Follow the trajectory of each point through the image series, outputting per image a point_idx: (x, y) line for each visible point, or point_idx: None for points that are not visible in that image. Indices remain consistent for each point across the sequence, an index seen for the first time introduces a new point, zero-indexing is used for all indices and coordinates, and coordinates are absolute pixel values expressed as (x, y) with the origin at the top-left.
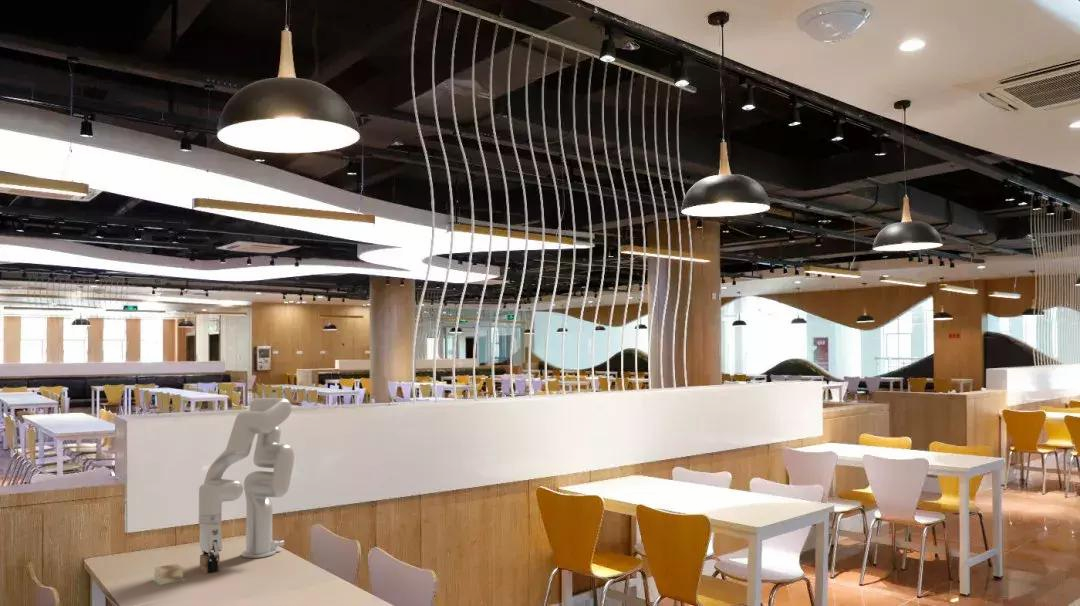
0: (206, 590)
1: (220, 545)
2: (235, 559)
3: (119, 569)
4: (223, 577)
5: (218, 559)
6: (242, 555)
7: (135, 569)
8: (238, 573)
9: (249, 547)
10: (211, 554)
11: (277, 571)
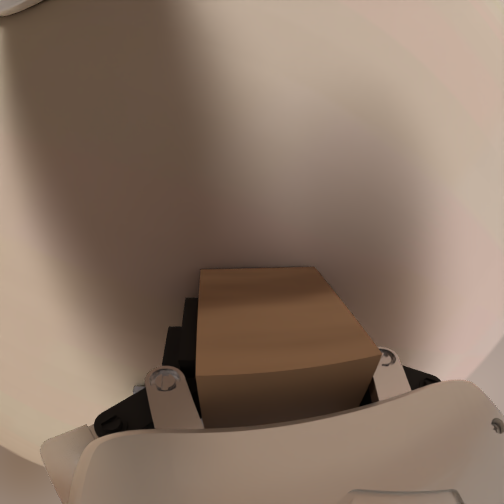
0: (458, 358)
1: (496, 428)
2: (35, 50)
3: (24, 445)
4: (413, 276)
5: (358, 332)
6: (22, 7)
7: (31, 436)
8: (419, 175)
9: None
10: (282, 411)
11: (485, 48)
